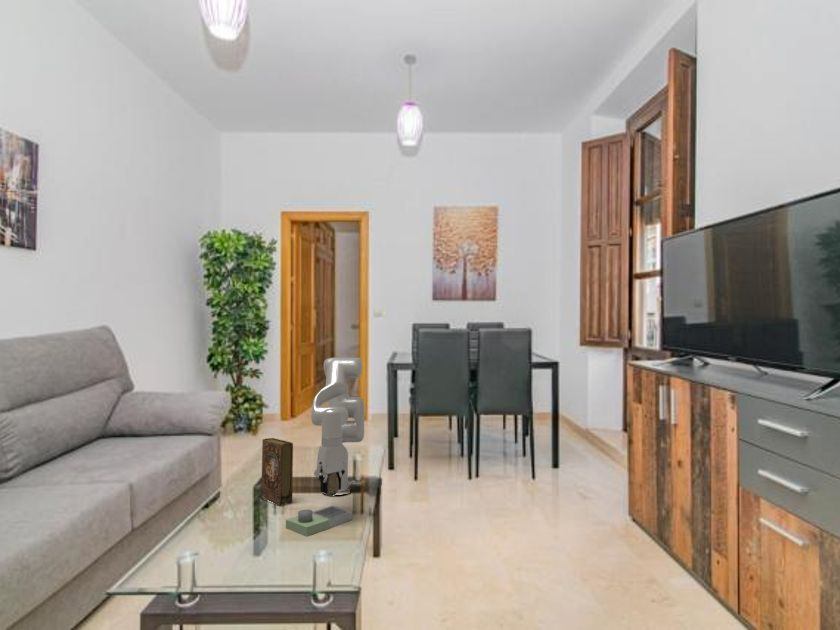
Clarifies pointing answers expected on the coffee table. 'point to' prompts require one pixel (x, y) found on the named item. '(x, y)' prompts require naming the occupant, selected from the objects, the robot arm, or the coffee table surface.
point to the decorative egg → (332, 484)
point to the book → (277, 470)
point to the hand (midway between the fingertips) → (330, 490)
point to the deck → (307, 523)
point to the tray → (334, 515)
